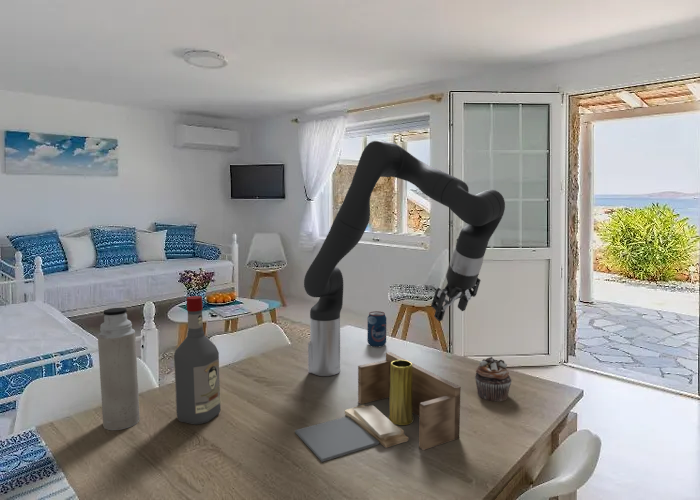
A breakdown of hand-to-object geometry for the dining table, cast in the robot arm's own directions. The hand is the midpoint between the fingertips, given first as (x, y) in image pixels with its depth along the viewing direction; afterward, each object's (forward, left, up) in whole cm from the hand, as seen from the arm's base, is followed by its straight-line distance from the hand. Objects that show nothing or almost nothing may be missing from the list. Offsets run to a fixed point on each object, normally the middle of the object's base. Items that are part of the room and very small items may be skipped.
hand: (449, 314), depth 125 cm
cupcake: (+12, +5, -23) cm, 26 cm away
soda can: (-28, +40, -23) cm, 54 cm away
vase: (-10, -16, -23) cm, 30 cm away
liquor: (-59, -27, -23) cm, 69 cm away
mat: (-23, -29, -23) cm, 44 cm away
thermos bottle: (-75, -35, -23) cm, 86 cm away
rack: (-12, -18, -23) cm, 32 cm away
